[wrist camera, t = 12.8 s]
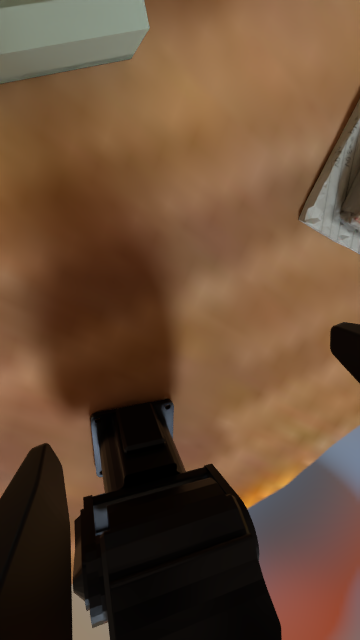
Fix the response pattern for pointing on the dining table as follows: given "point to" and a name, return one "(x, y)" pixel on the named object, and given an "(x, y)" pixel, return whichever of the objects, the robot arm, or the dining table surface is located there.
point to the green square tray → (67, 35)
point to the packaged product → (339, 190)
